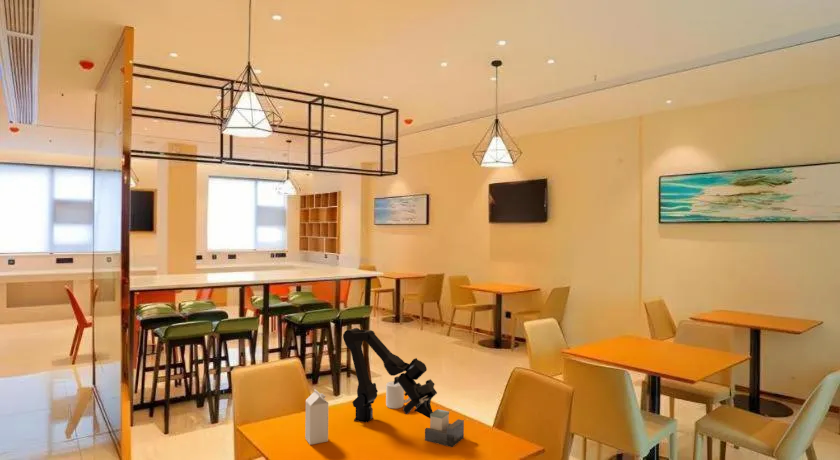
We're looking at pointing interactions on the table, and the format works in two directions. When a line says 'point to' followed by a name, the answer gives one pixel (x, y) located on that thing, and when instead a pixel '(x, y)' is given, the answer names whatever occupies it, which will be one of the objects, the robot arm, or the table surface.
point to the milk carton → (316, 418)
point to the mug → (395, 395)
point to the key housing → (446, 434)
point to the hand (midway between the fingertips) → (433, 418)
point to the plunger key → (439, 420)
